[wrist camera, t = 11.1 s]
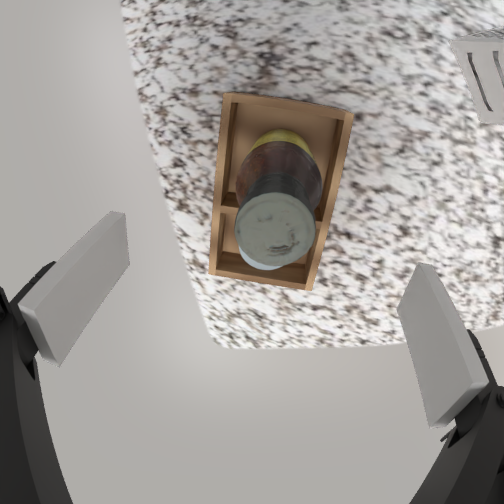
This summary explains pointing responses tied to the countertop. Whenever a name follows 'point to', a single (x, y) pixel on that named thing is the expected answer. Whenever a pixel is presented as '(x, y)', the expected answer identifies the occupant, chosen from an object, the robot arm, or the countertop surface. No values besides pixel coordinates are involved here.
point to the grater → (483, 72)
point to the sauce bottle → (277, 199)
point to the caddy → (232, 156)
